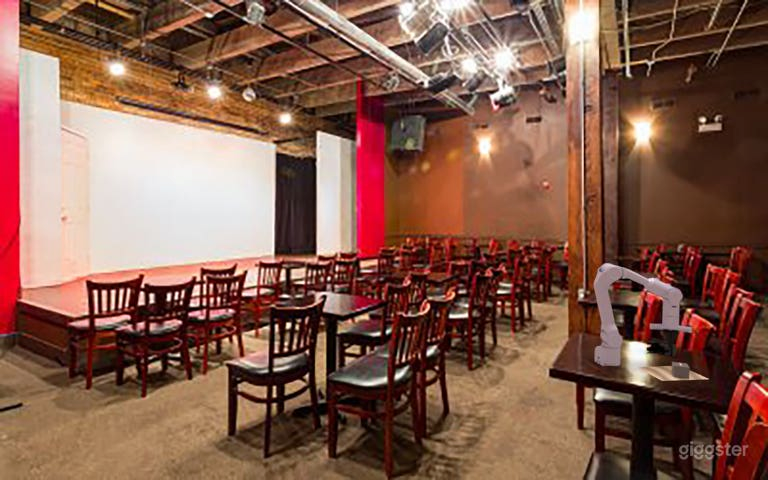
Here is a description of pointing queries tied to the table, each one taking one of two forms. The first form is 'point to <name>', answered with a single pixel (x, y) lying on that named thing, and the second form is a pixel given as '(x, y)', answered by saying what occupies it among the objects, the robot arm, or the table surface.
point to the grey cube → (680, 370)
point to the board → (668, 373)
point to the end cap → (661, 348)
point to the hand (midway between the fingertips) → (669, 347)
